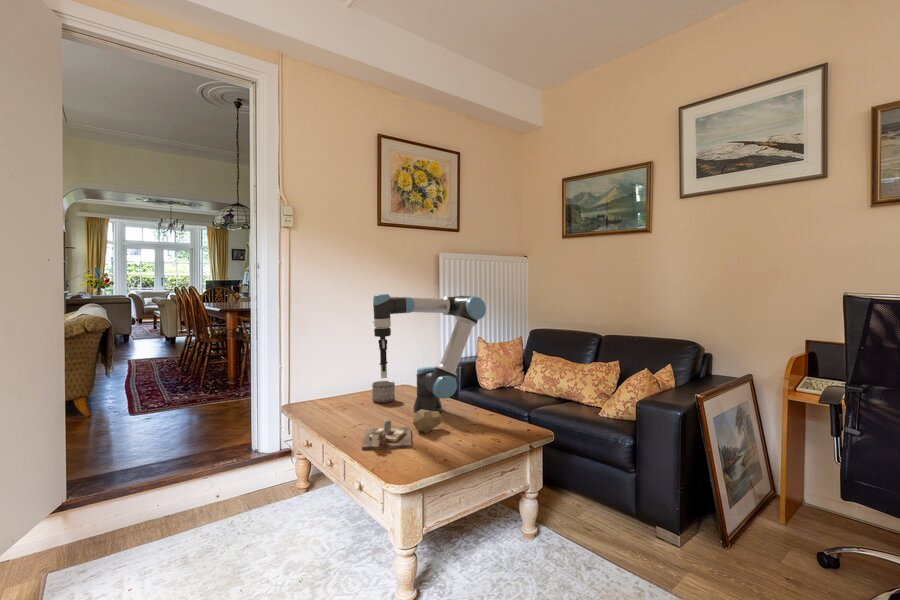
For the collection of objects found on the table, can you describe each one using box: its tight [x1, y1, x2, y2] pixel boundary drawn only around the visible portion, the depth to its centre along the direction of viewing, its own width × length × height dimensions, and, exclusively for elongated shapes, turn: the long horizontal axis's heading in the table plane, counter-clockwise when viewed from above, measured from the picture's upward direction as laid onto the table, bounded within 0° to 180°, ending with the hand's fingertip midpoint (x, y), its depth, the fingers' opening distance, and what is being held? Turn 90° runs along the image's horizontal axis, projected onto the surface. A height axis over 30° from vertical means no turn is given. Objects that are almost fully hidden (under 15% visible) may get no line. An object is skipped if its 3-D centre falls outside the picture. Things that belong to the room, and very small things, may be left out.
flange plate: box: [369, 427, 406, 447], centre depth 185 cm, size 19×12×5 cm, turn 164°
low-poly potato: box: [412, 409, 443, 434], centre depth 200 cm, size 15×11×12 cm
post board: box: [361, 419, 412, 451], centre depth 189 cm, size 20×22×8 cm
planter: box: [371, 380, 396, 404], centre depth 250 cm, size 13×13×10 cm
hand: (384, 377), depth 203 cm, fingers closed
